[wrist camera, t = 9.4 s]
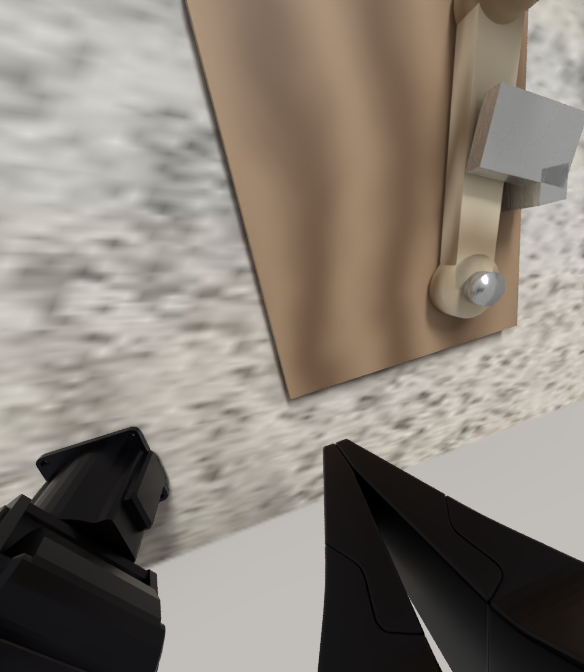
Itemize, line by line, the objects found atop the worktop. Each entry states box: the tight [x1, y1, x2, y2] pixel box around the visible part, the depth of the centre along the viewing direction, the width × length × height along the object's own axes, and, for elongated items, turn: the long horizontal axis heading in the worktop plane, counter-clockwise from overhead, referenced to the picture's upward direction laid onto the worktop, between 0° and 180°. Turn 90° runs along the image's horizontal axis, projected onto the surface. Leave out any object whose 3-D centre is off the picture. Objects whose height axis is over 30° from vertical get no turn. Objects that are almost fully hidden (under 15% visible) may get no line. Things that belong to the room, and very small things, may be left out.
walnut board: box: [185, 0, 528, 399], centre depth 19 cm, size 20×24×1 cm
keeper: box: [464, 82, 584, 306], centre depth 18 cm, size 8×12×3 cm, turn 13°
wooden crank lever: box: [430, 0, 539, 318], centre depth 12 cm, size 20×4×13 cm, turn 5°
